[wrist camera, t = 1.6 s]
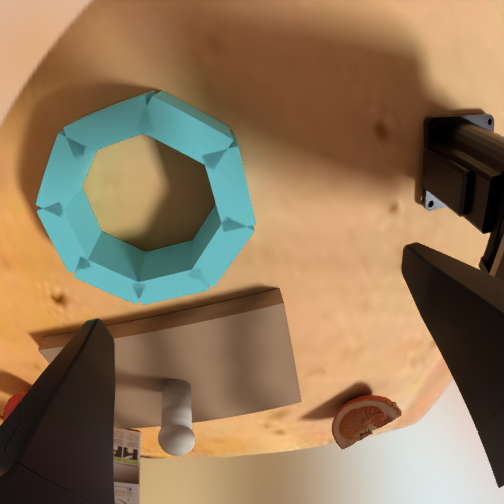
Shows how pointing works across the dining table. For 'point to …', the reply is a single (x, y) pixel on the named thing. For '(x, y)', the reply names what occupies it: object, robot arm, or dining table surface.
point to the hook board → (199, 366)
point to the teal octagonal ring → (119, 252)
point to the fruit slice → (362, 418)
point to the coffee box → (126, 466)
